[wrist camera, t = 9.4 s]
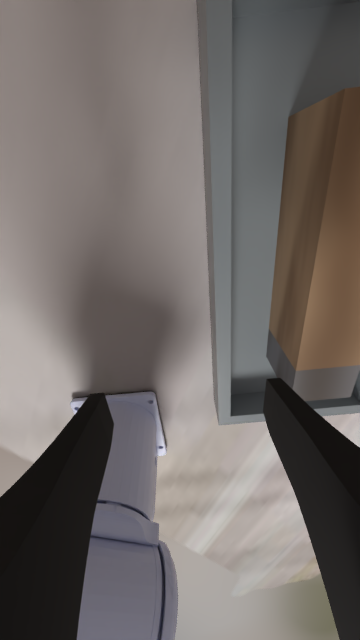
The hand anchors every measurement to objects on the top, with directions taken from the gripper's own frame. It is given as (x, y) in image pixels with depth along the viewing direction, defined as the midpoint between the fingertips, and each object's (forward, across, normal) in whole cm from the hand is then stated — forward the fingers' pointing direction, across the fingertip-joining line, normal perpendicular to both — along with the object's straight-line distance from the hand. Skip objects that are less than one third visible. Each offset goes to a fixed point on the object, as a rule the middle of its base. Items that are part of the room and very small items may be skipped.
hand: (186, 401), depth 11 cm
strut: (+9, -9, -3) cm, 13 cm away
